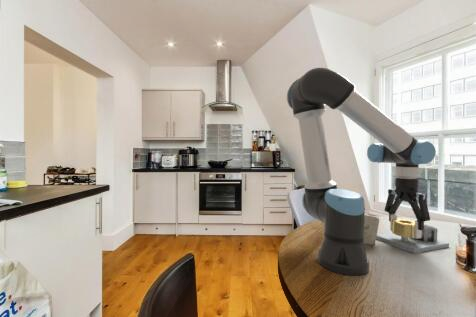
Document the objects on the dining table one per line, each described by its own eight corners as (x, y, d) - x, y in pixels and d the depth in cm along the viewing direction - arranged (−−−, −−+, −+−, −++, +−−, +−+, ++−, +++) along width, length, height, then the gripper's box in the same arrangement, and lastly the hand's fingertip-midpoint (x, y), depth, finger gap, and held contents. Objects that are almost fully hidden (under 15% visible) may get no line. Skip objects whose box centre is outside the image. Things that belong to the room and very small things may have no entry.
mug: (381, 246, 93) (382, 221, 93) (347, 243, 96) (348, 218, 95) (374, 239, 101) (374, 215, 101) (342, 236, 104) (343, 213, 104)
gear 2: (427, 243, 93) (427, 228, 93) (403, 235, 102) (403, 222, 102) (442, 241, 96) (443, 226, 96) (418, 233, 105) (418, 220, 105)
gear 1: (408, 239, 90) (409, 226, 90) (386, 232, 98) (386, 219, 98) (425, 236, 93) (425, 224, 93) (402, 229, 101) (402, 218, 101)
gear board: (413, 253, 87) (414, 234, 87) (375, 238, 102) (375, 222, 102) (448, 247, 94) (449, 229, 94) (407, 234, 109) (408, 218, 109)
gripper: (444, 180, 86) (442, 242, 87) (387, 175, 107) (386, 225, 107) (430, 180, 84) (428, 244, 84) (375, 175, 104) (374, 226, 105)
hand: (405, 233), depth 96 cm, fingers closed on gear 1, 9 cm apart
